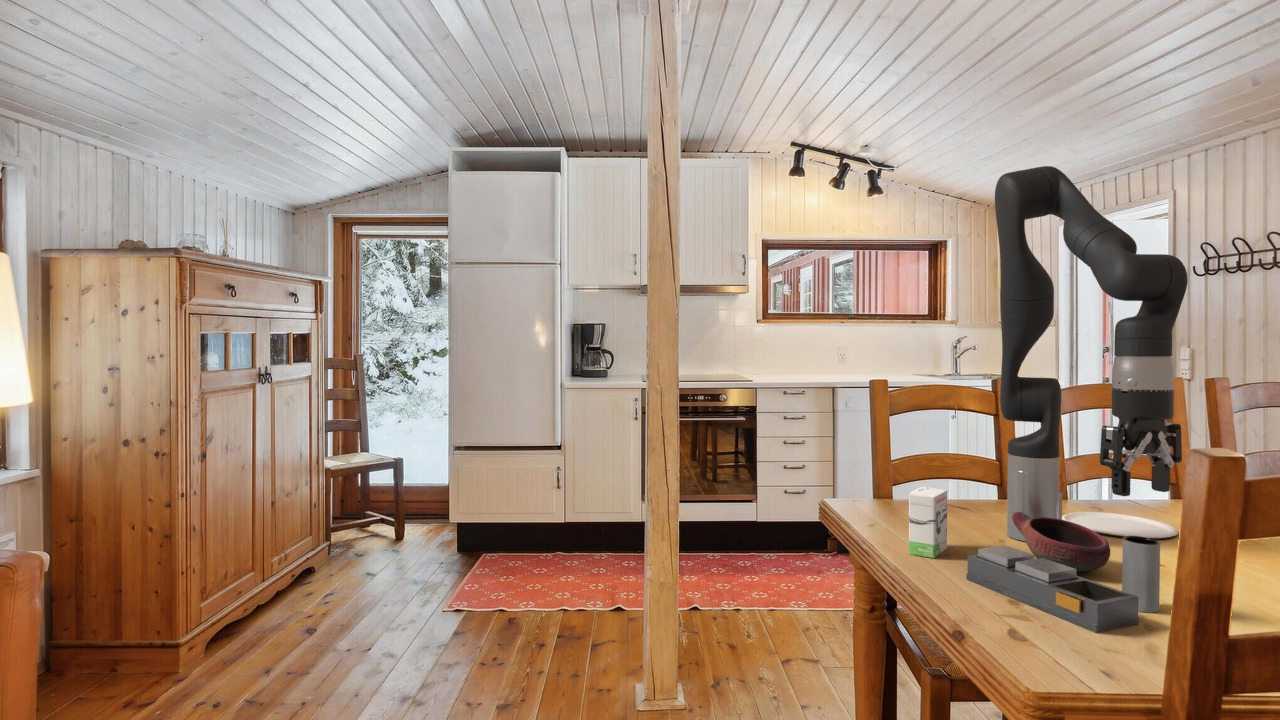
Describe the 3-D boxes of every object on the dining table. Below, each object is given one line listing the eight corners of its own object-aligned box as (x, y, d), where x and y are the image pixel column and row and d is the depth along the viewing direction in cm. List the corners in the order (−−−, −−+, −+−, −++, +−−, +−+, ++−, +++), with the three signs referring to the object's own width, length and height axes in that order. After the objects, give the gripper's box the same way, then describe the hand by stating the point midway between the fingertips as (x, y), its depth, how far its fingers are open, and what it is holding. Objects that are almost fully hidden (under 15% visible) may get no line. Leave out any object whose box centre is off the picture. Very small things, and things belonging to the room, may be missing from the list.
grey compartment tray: (964, 579, 114) (965, 547, 114) (1004, 573, 117) (1005, 542, 116) (1094, 633, 92) (1094, 594, 92) (1139, 624, 95) (1139, 586, 95)
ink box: (934, 559, 124) (935, 496, 124) (907, 554, 128) (907, 493, 127) (947, 548, 131) (948, 489, 131) (921, 544, 134) (922, 485, 134)
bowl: (1114, 567, 120) (1114, 523, 120) (1105, 587, 110) (1106, 538, 110) (1013, 549, 130) (1014, 509, 130) (997, 566, 120) (998, 522, 120)
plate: (1193, 532, 144) (1193, 526, 144) (1156, 548, 132) (1156, 542, 132) (1085, 512, 161) (1086, 507, 161) (1044, 525, 149) (1044, 519, 149)
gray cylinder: (1114, 601, 104) (1115, 536, 103) (1141, 601, 104) (1142, 535, 104) (1138, 613, 99) (1139, 544, 99) (1167, 612, 99) (1168, 543, 99)
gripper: (1149, 384, 107) (1147, 485, 107) (1084, 386, 102) (1083, 491, 102) (1201, 386, 100) (1200, 495, 100) (1134, 388, 95) (1133, 502, 95)
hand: (1140, 493), depth 101 cm, fingers open, 8 cm apart
